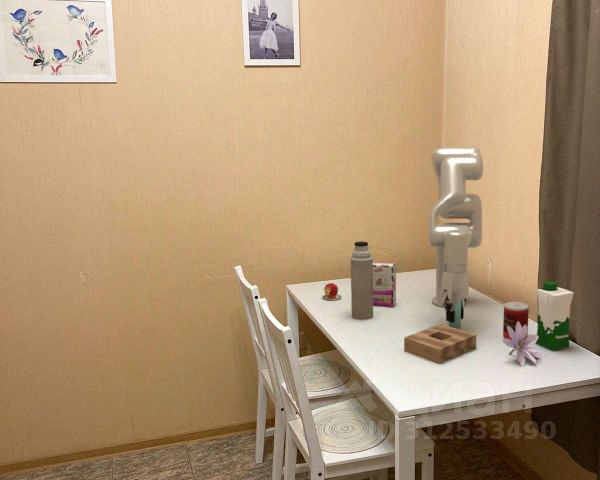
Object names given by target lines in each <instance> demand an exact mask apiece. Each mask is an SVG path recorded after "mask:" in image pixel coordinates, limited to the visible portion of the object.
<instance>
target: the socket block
mask: <svg viewBox="0 0 600 480" xmlns="http://www.w3.org/2000/svg"><path fill="white" fill-rule="evenodd" d="M403 341H404V343H403V347H404V348H403V351H404V352H406V353H409V354H412V355H415V356H418V357H420V358H423V359H425V360H428V361H431V362H434V363H437V364H442V363H445V362H447V361H449V360H452V359H454V358H457V357H458V356H461V355H464V354H466V353H468V352H470V351H473V350H475V349H477V334H476V333H473V332H469V331H466V330H462V329H461V330H460V329H456V328H453V327H450V326H448V325H447V324H443V323H440V324H437V325H434V326H431V327H428V328H425V329H424V330H421V331H418V332H414V333H413V334H410V335H407V336H404V338H403Z"/></svg>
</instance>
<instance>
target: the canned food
mask: <svg viewBox="0 0 600 480" xmlns="http://www.w3.org/2000/svg"><path fill="white" fill-rule="evenodd" d="M503 305H504V306H503V321H502V322H503V324H502V330H503V331H502V335H503V339H510V340H512V339H511V337H510V335H509V333H508V330H507V326H509V327H511V328H512V329H513V331H514V333H515V331H516V324H517V322H519V323H520V324H521V327H523V326H524V325H526V326H527V333H526V336H525V338H524V340H525V339H526V338H527V337H528V331H529V330H528V329H529V311H530V310H529V309H530V308H529V307H530V306H529V305H528V304H527V303H525V302H521V301H509V302H506V303H504V304H503ZM524 340H523V341H524ZM512 341H513V340H512ZM513 342H514V341H513Z"/></svg>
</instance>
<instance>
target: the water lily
mask: <svg viewBox="0 0 600 480" xmlns="http://www.w3.org/2000/svg"><path fill="white" fill-rule="evenodd" d="M507 330H508V333H509V335H510V337H511V339H512V340H513V341H512V340H510V339H506V338H503V339H502V343H503V344H504V345H505V346H507V347H509V348H512V350H511V351H509V353H508V355H509V356H510V355H512V354H513V353H514V352H516V357H517V360H518V363H519V365H520V366H521V368H522V367H524V366H525V364H526V358H527V359H529V361H532V362H533V363H535V364H537V360H536V358H538V359H542V358H543V356H542V354H540V353H539V352H540V350H539V349H537V348H536V347H533V346H531V345H533V344H536V341H537V339H538V335H537V334H533V335H529V336H527V338H526V339H525V340H524V338H525V336H526V333H527V326H526V325H524V326H523V327H521V324H520V323H519V322H517V324H516V331H515V333H514V331H513V329H512V328H511V327H509V326H507ZM525 357H526V358H525Z"/></svg>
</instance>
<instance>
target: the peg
mask: <svg viewBox="0 0 600 480" xmlns="http://www.w3.org/2000/svg"><path fill="white" fill-rule="evenodd" d="M449 305H450V306H451V303H449ZM453 311H455V322H454V323H452V322H449V321H448V324H447V326H450V327H453V328H456V329H460V330H462V327H461V325H462V319H461V300H459V301H457V302H455V304H454V310H453Z"/></svg>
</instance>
